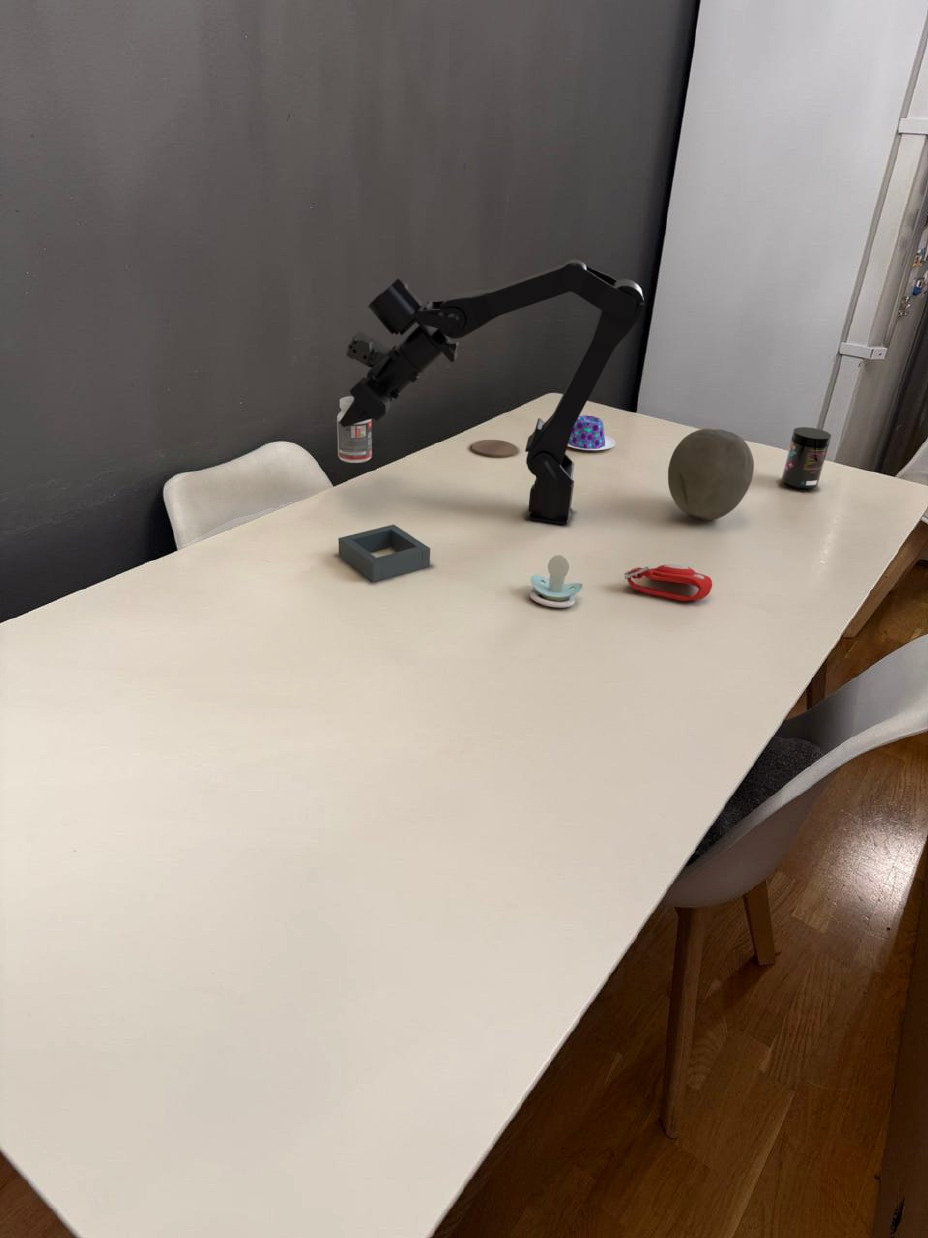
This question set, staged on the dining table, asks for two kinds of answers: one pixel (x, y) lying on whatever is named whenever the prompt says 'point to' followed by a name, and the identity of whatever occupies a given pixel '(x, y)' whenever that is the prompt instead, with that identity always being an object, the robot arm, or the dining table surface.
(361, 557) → the bottle stand
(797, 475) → the supplement container
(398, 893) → the dining table surface
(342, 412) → the pill bottle
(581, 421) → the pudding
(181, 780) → the dining table surface
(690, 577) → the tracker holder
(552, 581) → the pacifier
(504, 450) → the coaster
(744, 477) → the grey brown round stone
